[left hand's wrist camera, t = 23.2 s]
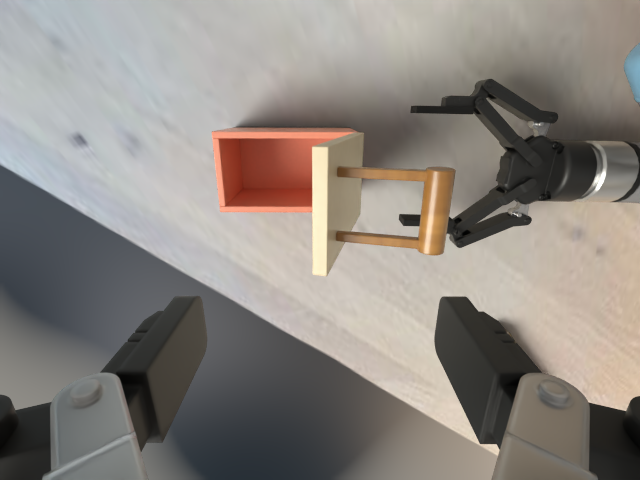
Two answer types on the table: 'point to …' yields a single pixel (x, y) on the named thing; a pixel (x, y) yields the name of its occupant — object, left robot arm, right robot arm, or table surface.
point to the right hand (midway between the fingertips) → (406, 167)
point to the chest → (267, 167)
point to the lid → (345, 201)
